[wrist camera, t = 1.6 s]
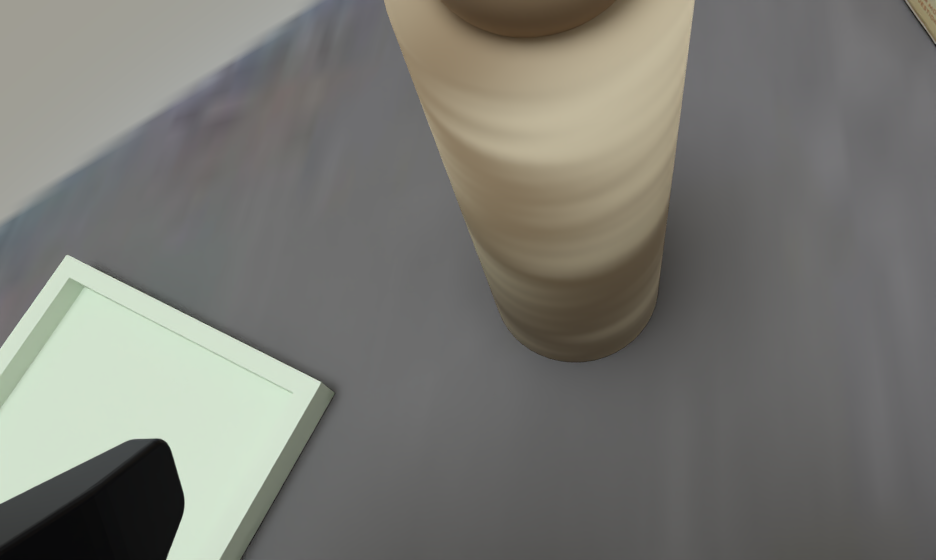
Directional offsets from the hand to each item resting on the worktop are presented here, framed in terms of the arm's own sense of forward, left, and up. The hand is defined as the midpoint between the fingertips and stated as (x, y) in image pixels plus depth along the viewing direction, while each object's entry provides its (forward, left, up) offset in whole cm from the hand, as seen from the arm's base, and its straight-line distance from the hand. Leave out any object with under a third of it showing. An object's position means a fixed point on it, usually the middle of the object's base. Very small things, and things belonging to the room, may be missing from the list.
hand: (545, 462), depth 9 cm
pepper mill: (+3, -7, -13) cm, 15 cm away
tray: (+13, +4, -13) cm, 19 cm away
